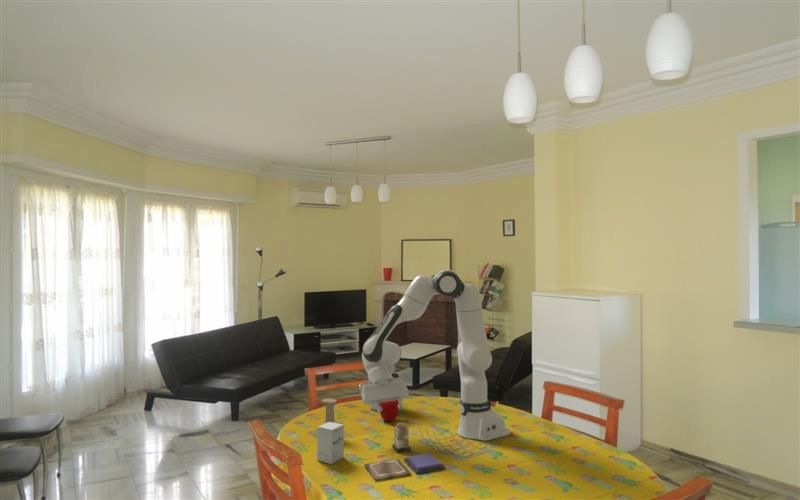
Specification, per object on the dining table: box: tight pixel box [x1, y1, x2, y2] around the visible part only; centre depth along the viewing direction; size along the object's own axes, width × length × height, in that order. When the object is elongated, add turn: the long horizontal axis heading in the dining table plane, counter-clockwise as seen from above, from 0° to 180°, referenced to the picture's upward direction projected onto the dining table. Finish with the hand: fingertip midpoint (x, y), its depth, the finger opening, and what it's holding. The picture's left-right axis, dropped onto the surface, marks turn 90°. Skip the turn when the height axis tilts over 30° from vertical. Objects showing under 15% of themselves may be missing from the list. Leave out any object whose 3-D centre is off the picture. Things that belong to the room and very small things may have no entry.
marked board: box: [364, 458, 412, 482], centre depth 181 cm, size 13×13×1 cm
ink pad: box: [403, 452, 446, 475], centre depth 185 cm, size 11×12×2 cm
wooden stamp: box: [391, 422, 412, 454], centre depth 200 cm, size 6×6×10 cm
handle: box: [321, 398, 338, 424], centre depth 216 cm, size 5×6×15 cm
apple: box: [379, 400, 400, 422], centre depth 235 cm, size 10×10×11 cm
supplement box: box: [316, 422, 345, 465], centre depth 191 cm, size 7×7×13 cm
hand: (390, 409), depth 208 cm, fingers open, 8 cm apart
